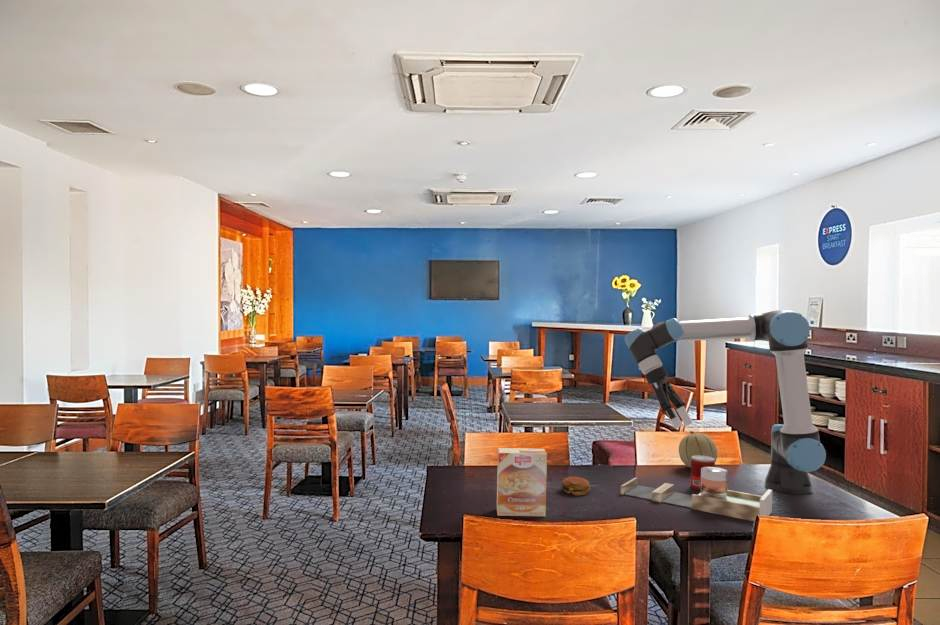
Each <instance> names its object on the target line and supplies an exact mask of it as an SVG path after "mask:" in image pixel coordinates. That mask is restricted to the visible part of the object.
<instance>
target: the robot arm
mask: <svg viewBox="0 0 940 625" xmlns="http://www.w3.org/2000/svg"><path fill="white" fill-rule="evenodd" d="M810 330H811V328H810V323H809V322H808V320H807V318H806V317H805V316H804V315H803V314H802V313H799V312H797V311H795V310H791V309H790V310H789V309H786V310H785V309H784V310H783V309H782V310H777V309H776V310H771V311H767V312H766V311H765V312H762V313H753V314H749V315H748V316H746V317H733V318H732V317H731V318H712V319H711V318H710V319H694V320H678V319H677V318H675V317H673V318H670V319H667V320H665V321H658V322H655V323H654V324H653V325H652V327H651V329H649V330H646V331H645V330H644V329H643V328H641V327H640V328H636V329H633V330H632V331H629V332H628V333H627V334H626V335H625V337H624V342H625V344H626V346H627V348H628V350H629V352H630V354H632V357H633V358H634V360H635V362H636V363H637V366H638V370H639V371H641V373H642V374H643V375H644V378H645V380H646V382H647V384H648V385H650V386H652V388H653V390H654V393H655V395H656V397H657V400H658V403H659V406H660V408H661V411H662V412H663V413H664V412H665V413H666V415H667V417H668V418H669V421H670V422H671V424H672V426H673V427H674V429H675V430H677V429H679V428H681V427H684V426H685V427H688V426H689V425H692V424H694V422H693V420H692V418H691V417H690V415H689V413H688V411H687V410H686V408H685V406H686V402H684V401H683V400H682V398H681V396H679V394H678V393H677V391H676V390H675V389H674V388H673V386H672V384H671V382H670V380H667V381H666V379H667V378H668V377H669V373H668V371H667V370H666V368H665V366H663V363H662V360H661V358H660V357H659V356H658V354H657V352H656V351H658V350H659V349H661V348H663V347H665V346H667V345H669V344H672V343H674V342H689V341H690V342H694V341H714V340H717V341H718V340H733V339H735V340H736V339H749V340H750V341H754V342H755V341H761V342H762V341H763V342H768V346H769V347H768V348H769V352H770V353H772V354H773V355H774V356H775V362H776V364H775V365H776V373H777V378H778V386H779V388H778V389H779V393H780V395H779V396H780V402H781V403H780V404H781V410H782V418H783V424H781V423H780V424H773V425H772V427H771V432H770V435H771V436H770V441H771V442H770V446H771V447H770V466H769V468H768V472H767V473H766V476H765V480H764V486H765V487H766V488H767V489H770V490H772V491H774V492H778V493H782V494H791V495H807V494H811V493H812V492H813V483H812V480H811V478H810V475H809V473H811V472H815V471H817V470H819V469H820V468H821V467H822V466H823V465H824V464H825V461H826V457H827V452H826V449H825V447H824V445H823V444H822V443H821V439H820V432H819V428H818V427H817V426H816V425H814V423H813V419H812V411H811V410H812V408H811V402H810V394H809V386H808V380H807V379H808V378H807V377H808V376H807V371H806V370H807V369H806V362H805V355H804V354H805V353H806V351H807V350H808V349H809V344H808V339H809V338H808V337H809V335H810V332H811V331H810ZM672 405H673V406H674V407H675V408H676V410H675V409H674V407H672ZM677 413H678V414H677ZM679 416H680V417H679ZM683 425H684V426H683Z"/></svg>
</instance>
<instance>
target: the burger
mask: <svg viewBox="0 0 940 625" xmlns="http://www.w3.org/2000/svg"><path fill="white" fill-rule="evenodd" d="M561 485H562V490H563V491H564V492H565V493H566V494H568V495H569V494H572V495H573V496H586V495H587V494H588V493H589V492H590V490H591V486H590V485H591V484H590V481H589V480H587V479H585V478H583V477H579V476H568V477H565V478H564V479H563V480H562V482H561Z"/></svg>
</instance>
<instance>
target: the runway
mask: <svg viewBox="0 0 940 625" xmlns="http://www.w3.org/2000/svg"><path fill="white" fill-rule="evenodd" d="M638 483H639V480H638V477H634V478H632V479H630V480H628V481H626V482H625V483H623V484H622V485H620V495H622V496H627V497H632V498H636V499H640V500H641V499H642V500H647V501H650V502H651V501H652V502H656V503H661V504H664V505H665V504H667V505H671V506H675V507H681V508H685V509H691V510H696V511H699V512H700V511H701V512H705V513H711V514H716V515H721V516H725V517H731V518H736V519H740V520H745V521H751V522H755V519H756V516H757V515H759V511H760V506H754V505H749V504H744V503H738V502H733V501H728V500H722V499H717V498H712V497H706V496H701V491H700V492H699V493H698V494H694V493H692V494H686V493H681V492H675V484H673V483H668V482H664V483H663V484H662V485H660V486H658V487H656V488H655V487H650V486H645V485H640V484H638ZM730 496H734V497H740V498H745V499H751V500H756V501H760V499H761V497H762V496H763V495H759V494H753V493H747V492H742V491H737V490H731V489H727V499H728V498H729V497H730Z"/></svg>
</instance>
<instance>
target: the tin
mask: <svg viewBox="0 0 940 625" xmlns="http://www.w3.org/2000/svg"><path fill="white" fill-rule="evenodd" d="M728 484H729V482H728V470H727V469H725V468H722V467H716V466H715V467H702V468H701V491H700V492H701V496H706V497H712V498H717V499H722V500H727V490H728Z"/></svg>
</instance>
